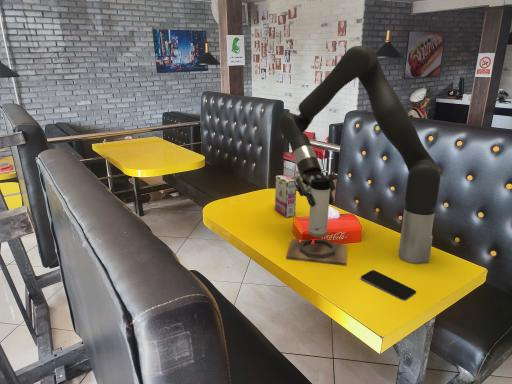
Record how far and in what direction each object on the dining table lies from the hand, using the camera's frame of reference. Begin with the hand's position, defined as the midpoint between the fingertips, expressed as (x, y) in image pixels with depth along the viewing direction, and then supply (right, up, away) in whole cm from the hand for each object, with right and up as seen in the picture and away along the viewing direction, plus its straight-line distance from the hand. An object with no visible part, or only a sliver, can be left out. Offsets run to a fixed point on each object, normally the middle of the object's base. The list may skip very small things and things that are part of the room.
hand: (322, 204), depth 123 cm
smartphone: (+17, -24, -12) cm, 32 cm away
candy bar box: (-9, -6, +43) cm, 45 cm away
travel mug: (-1, -10, +5) cm, 12 cm away
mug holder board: (-1, -17, +7) cm, 19 cm away
